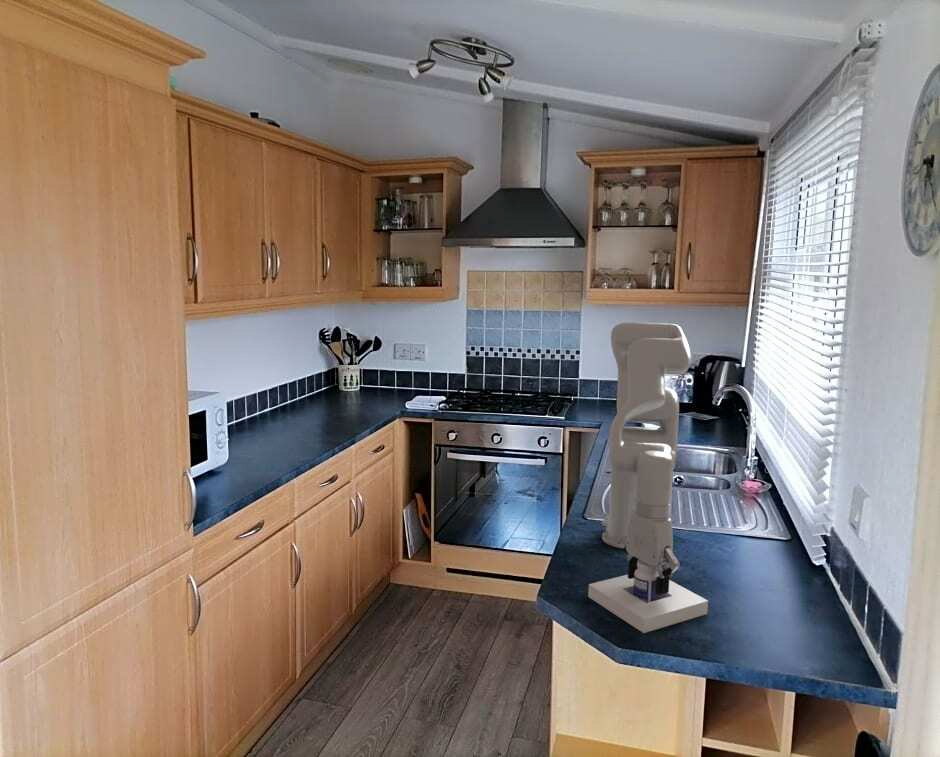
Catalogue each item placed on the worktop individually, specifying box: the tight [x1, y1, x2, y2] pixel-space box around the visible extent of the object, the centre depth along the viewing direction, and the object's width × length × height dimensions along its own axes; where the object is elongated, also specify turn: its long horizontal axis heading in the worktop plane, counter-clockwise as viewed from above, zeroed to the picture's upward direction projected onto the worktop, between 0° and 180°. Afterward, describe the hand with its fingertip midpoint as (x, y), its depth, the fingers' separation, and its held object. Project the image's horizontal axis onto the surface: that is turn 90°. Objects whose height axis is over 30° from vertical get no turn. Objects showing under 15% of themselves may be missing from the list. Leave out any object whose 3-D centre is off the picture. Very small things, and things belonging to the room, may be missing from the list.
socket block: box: [587, 574, 709, 634], centre depth 155 cm, size 18×18×3 cm
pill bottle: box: [633, 560, 660, 603], centre depth 155 cm, size 6×6×10 cm
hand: (647, 584), depth 155 cm, fingers open, 8 cm apart
